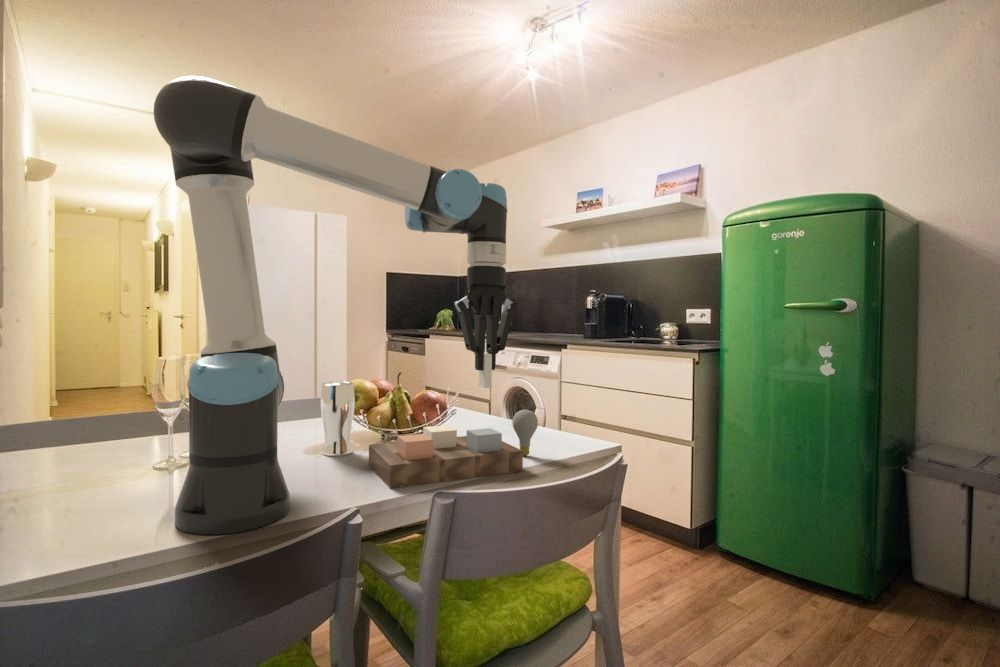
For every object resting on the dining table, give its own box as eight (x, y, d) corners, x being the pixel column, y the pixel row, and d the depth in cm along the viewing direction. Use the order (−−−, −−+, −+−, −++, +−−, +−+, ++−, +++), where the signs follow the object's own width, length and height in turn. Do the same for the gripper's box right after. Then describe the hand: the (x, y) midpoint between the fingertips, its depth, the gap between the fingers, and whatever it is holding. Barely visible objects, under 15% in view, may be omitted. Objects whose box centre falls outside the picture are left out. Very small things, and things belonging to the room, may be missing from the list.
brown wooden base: (389, 488, 93) (390, 465, 93) (368, 464, 108) (368, 444, 107) (522, 471, 105) (522, 450, 105) (487, 452, 119) (487, 434, 119)
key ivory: (431, 457, 105) (431, 432, 105) (422, 451, 110) (423, 427, 110) (456, 455, 108) (456, 430, 107) (447, 449, 112) (447, 425, 112)
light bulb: (527, 460, 113) (528, 412, 112) (506, 456, 116) (507, 409, 116) (542, 455, 117) (542, 409, 117) (521, 451, 120) (522, 406, 120)
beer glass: (348, 457, 113) (349, 385, 112) (315, 456, 113) (315, 385, 113) (358, 449, 120) (358, 381, 119) (326, 448, 120) (327, 381, 120)
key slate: (476, 461, 103) (477, 435, 103) (466, 455, 108) (466, 430, 108) (501, 458, 105) (501, 433, 105) (489, 452, 110) (490, 428, 110)
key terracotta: (405, 469, 97) (405, 442, 97) (397, 462, 101) (397, 436, 101) (432, 466, 99) (433, 439, 99) (423, 459, 104) (424, 433, 104)
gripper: (462, 262, 99) (461, 391, 100) (525, 266, 105) (523, 387, 106) (448, 265, 106) (446, 386, 107) (507, 269, 112) (505, 383, 112)
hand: (485, 386), depth 106 cm, fingers closed
